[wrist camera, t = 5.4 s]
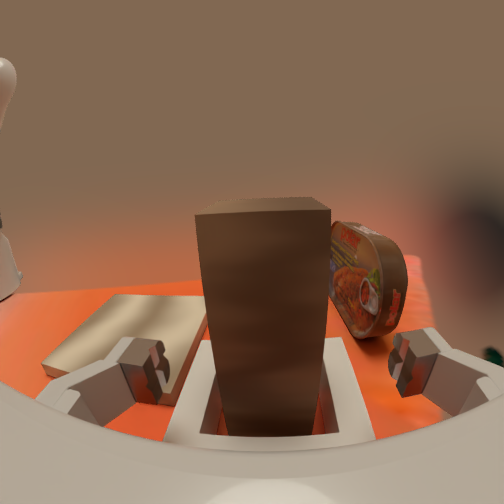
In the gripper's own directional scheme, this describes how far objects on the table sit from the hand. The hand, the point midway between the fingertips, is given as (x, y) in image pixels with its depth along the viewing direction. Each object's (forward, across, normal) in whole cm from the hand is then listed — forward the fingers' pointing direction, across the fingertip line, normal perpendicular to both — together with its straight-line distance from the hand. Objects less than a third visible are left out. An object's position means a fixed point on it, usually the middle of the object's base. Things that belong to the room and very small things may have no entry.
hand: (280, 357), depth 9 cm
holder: (+3, 0, -7) cm, 8 cm away
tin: (+15, +8, -7) cm, 19 cm away
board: (+11, -12, -7) cm, 18 cm away
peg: (+2, 0, -7) cm, 8 cm away
